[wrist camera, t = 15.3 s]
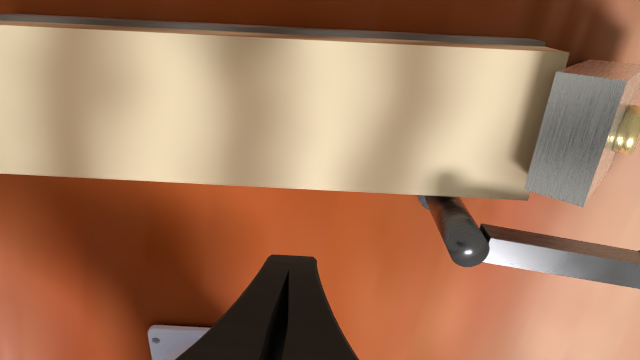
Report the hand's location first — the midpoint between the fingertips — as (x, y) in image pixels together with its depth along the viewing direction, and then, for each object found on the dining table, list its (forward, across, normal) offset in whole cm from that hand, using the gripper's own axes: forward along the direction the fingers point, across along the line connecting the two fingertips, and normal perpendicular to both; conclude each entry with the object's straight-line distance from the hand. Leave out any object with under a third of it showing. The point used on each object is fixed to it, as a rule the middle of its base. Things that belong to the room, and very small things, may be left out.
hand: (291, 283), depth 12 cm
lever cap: (+8, -11, -3) cm, 14 cm away
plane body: (+10, +2, -3) cm, 11 cm away
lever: (+10, -11, +2) cm, 15 cm away
